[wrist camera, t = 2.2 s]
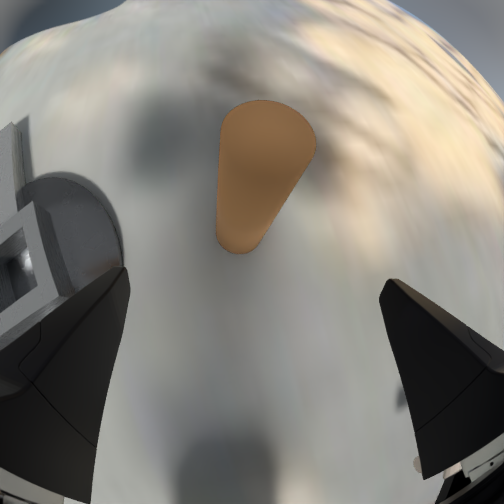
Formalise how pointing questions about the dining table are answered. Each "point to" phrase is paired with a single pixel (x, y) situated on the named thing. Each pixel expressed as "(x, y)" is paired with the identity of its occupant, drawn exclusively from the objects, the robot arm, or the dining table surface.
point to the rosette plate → (46, 241)
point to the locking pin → (258, 169)
